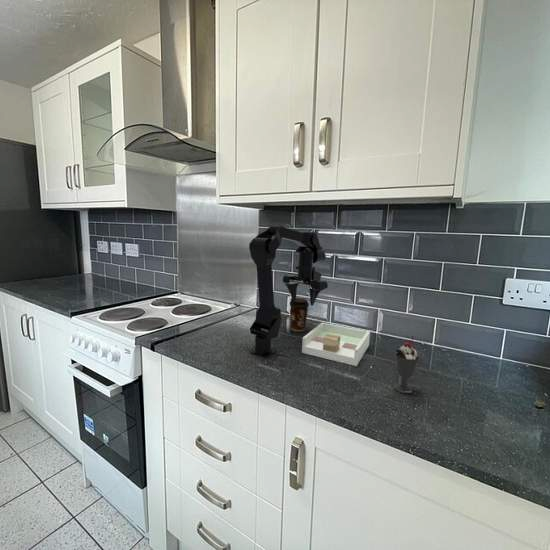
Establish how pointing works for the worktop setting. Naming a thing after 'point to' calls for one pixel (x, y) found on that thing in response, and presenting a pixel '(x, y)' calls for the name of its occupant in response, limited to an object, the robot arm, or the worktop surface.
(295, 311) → the coffee cup
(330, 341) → the block
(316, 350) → the trap box
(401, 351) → the sundae
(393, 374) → the worktop surface
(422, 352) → the worktop surface
